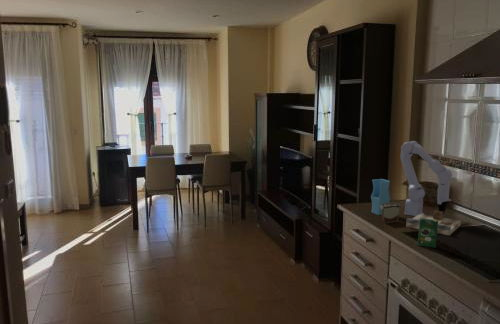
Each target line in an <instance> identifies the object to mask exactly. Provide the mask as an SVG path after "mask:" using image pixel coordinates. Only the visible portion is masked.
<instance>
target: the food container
mask: <svg viewBox="0 0 500 324" xmlns="http://www.w3.org/2000/svg"><path fill="white" fill-rule="evenodd" d="M380 208H381V211H382V215H381V222H382V224H389V223H397V222H399V216H400V210H401V203H396V202H389V203H382V204H381V207H380Z"/></svg>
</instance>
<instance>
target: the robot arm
mask: <svg viewBox="0 0 500 324" xmlns="http://www.w3.org/2000/svg"><path fill="white" fill-rule="evenodd" d="M413 154H415V155H418V156H420V157H421V158H422V159H423V160H424V161H425V162H426V163H428V168H430V170H431V171H432V172H433V173H435V174H436V175H437V178H438V189H437V190H438V191H437V198H436V205H437V208H438V211H443V216H444V215H445V212H446V209H447V207H448V205H449V204H450V202H451V201H452V199H451V198H450V188H451V178H452V177H453V172H452V171H451V170H450V169H448V168H447V167H445V166H444V165H443V164H441V161H440V160H438V159H434V158H432V156H431V155H430V154H429V153H428V152H427V151H426V149H424V148H423V147H422V145H421V144H419V142H418V141H416V140H411V141H405V142H404V143H403V144H402V145H401V146H400V157H399V158H400V161H401V165H402V168H403V170H404V174H405V177H406V179H407V183H408V189H407V190H408V197H409V198H406V200H405V203H404V213H403V215H407V216H413V217H415V216H417V215H418V214H425V213H424V212H423V207H424V206H423V205H424V198H425V196H426V191H425V190H424V188H423V186H422V185H421V184H420V182H419V181H418V178H417V175H416V174H417V173H416V172H415V168H414V164H413V161H412V159H411V157H412V156H413Z"/></svg>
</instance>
